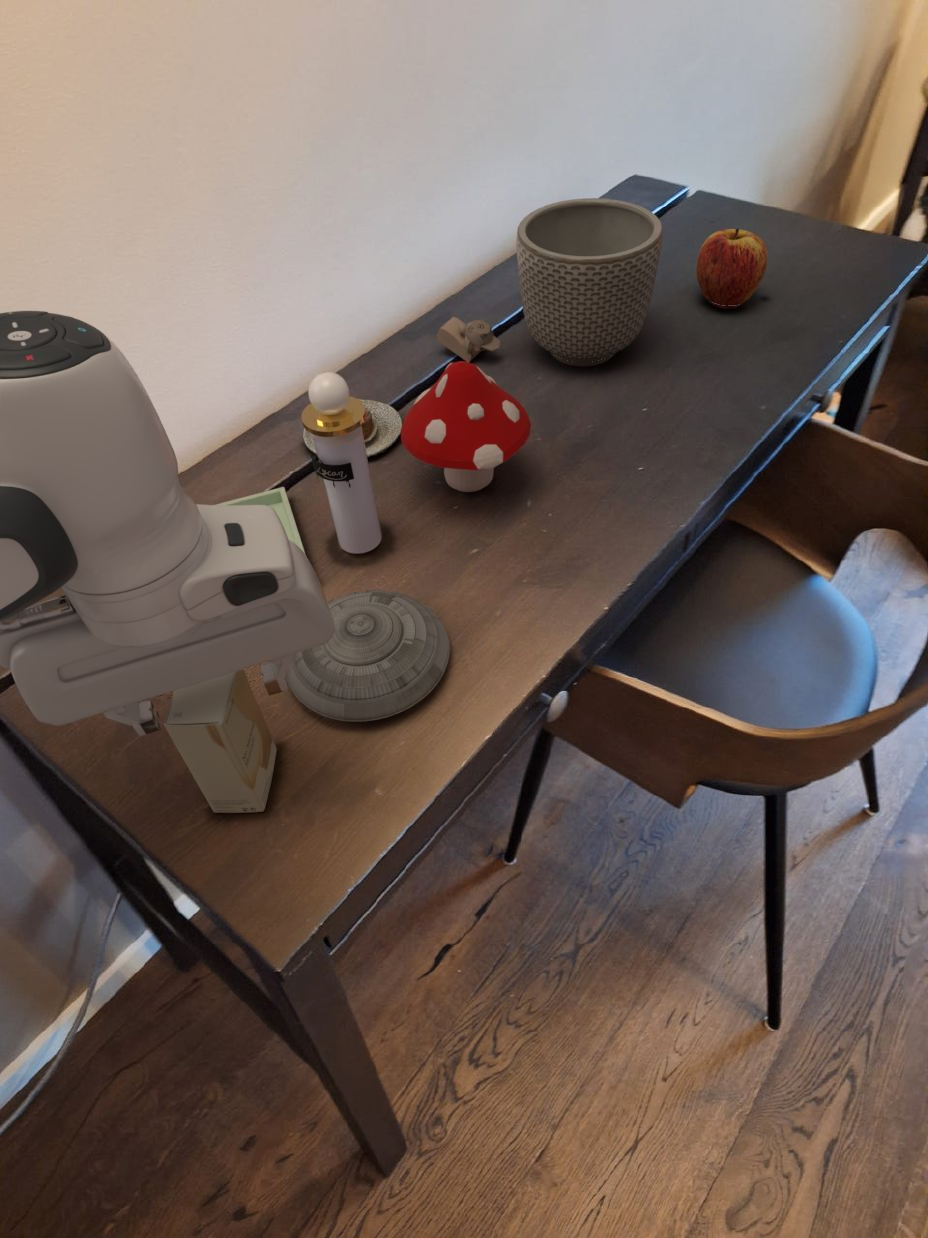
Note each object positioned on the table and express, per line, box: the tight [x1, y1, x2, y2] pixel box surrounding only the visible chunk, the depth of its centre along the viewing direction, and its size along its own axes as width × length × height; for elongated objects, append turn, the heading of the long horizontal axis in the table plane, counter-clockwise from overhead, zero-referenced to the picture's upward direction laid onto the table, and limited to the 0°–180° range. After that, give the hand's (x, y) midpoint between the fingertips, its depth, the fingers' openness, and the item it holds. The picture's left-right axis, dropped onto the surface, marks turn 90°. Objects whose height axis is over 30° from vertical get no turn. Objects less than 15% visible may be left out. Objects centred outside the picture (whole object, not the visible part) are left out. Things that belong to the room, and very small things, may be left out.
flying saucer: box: [285, 589, 451, 723], centre depth 73 cm, size 15×15×6 cm
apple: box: [695, 228, 768, 310], centre depth 110 cm, size 9×9×10 cm
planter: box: [515, 197, 664, 368], centre depth 102 cm, size 17×17×16 cm
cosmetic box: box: [163, 669, 278, 814], centre depth 63 cm, size 6×4×12 cm
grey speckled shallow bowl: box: [302, 398, 403, 458], centre depth 97 cm, size 12×12×5 cm
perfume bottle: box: [301, 371, 383, 554], centre depth 78 cm, size 6×6×20 cm
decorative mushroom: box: [400, 360, 532, 493], centre depth 85 cm, size 14×14×15 cm
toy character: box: [435, 316, 502, 363], centre depth 107 cm, size 4×8×6 cm, turn 58°
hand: (214, 706), depth 60 cm, fingers open, 8 cm apart
